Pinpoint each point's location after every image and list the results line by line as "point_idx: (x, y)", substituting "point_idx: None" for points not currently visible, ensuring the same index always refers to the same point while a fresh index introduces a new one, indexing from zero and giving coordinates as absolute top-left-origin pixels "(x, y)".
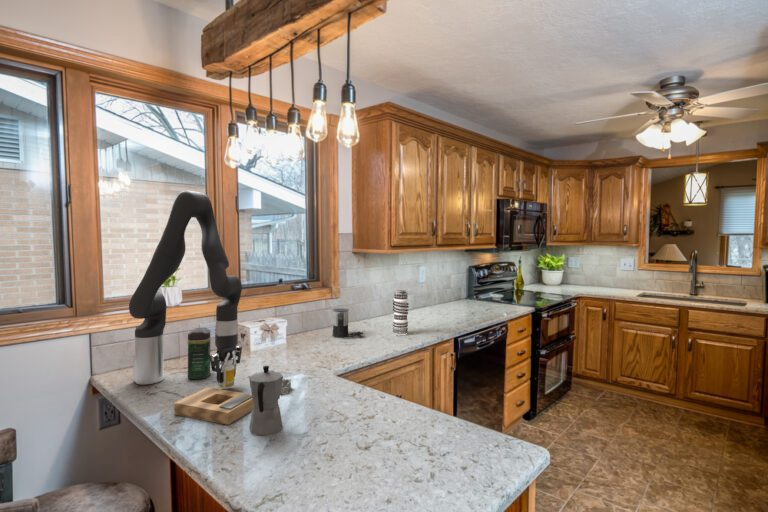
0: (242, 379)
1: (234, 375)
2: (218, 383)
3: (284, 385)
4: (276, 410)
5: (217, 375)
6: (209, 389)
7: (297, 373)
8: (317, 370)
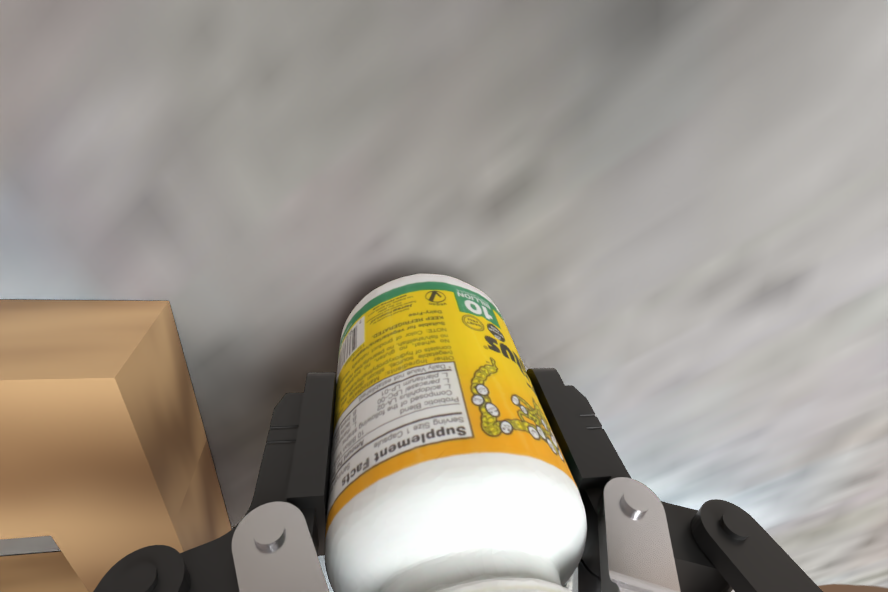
0: (703, 282)
1: None
2: (350, 334)
3: None
4: None
5: (264, 475)
6: (75, 430)
7: (790, 501)
8: (822, 541)
